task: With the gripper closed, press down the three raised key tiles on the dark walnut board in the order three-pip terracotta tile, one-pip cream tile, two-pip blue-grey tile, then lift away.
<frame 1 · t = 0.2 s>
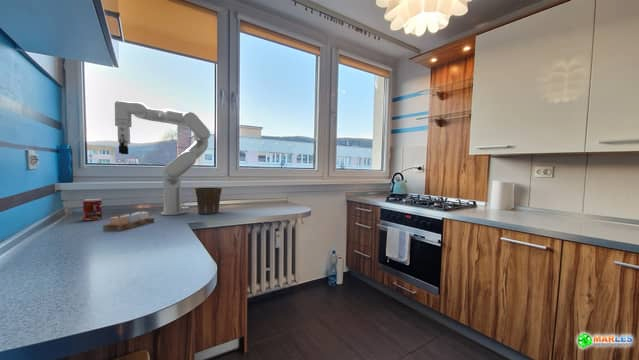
hand: (123, 153, 147), 37 cm above the countertop, tool pointing down, fingers open, 9 cm apart
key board: (130, 225, 126), on the countertop
plant pot: (208, 213, 166), on the countertop
canned food: (93, 219, 142), on the countertop
tile one pip: (140, 215, 133), point 4 cm above the countertop, slide at 0.0 cm
tile three pip: (119, 220, 120), point 4 cm above the countertop, slide at 0.0 cm
tile two pip: (130, 218, 126), point 4 cm above the countertop, slide at 0.0 cm
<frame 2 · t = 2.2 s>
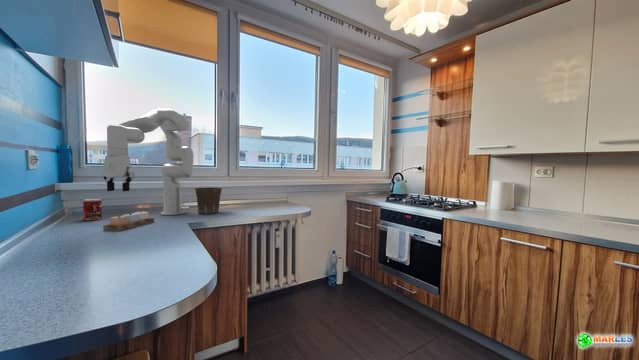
hand: (118, 190, 119), 18 cm above the countertop, tool pointing down, fingers open, 7 cm apart
nothing on the countertop moved.
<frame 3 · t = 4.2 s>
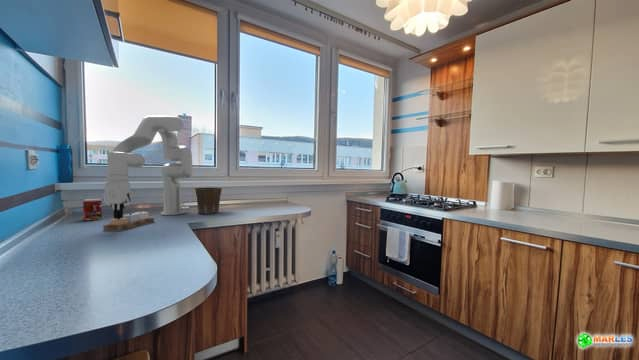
hand: (118, 218, 119), 5 cm above the countertop, tool pointing down, fingers closed
tile three pip: (119, 222, 120), point 3 cm above the countertop, slide at 0.8 cm, touching gripper
everything else where it was.
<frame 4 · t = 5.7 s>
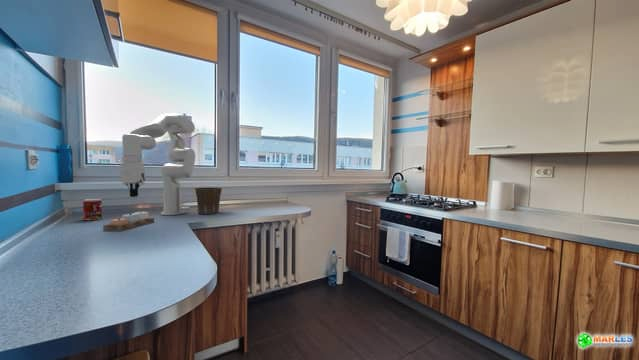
hand: (134, 196, 128), 14 cm above the countertop, tool pointing down, fingers closed
tile three pip: (119, 223, 120), point 3 cm above the countertop, slide at 1.2 cm
everything else where it was.
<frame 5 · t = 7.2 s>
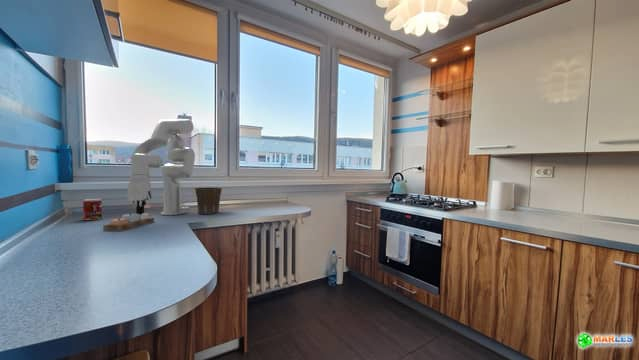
hand: (140, 213, 132), 5 cm above the countertop, tool pointing down, fingers closed
tile one pip: (140, 217, 133), point 3 cm above the countertop, slide at 0.9 cm, touching gripper
everything else where it was.
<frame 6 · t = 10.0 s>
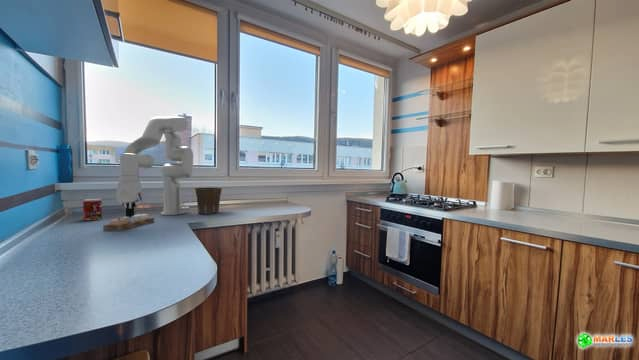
hand: (130, 216, 126), 5 cm above the countertop, tool pointing down, fingers closed
tile one pip: (140, 218, 133), point 3 cm above the countertop, slide at 1.2 cm
tile two pip: (130, 220, 126), point 3 cm above the countertop, slide at 1.1 cm, touching gripper
everything else where it was.
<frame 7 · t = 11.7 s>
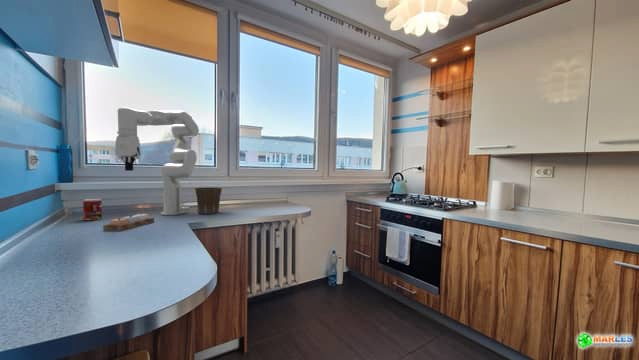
hand: (129, 170, 129), 27 cm above the countertop, tool pointing down, fingers closed
tile two pip: (130, 220, 126), point 3 cm above the countertop, slide at 1.2 cm
everything else where it was.
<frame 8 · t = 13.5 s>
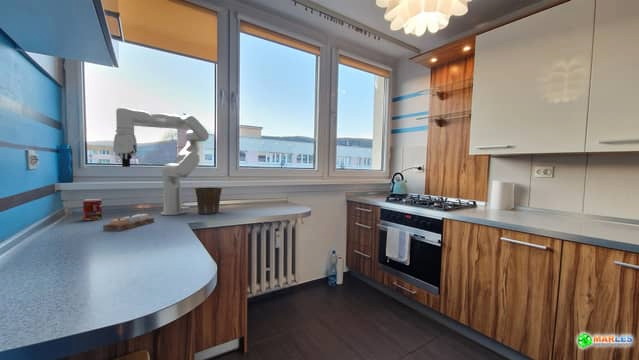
hand: (126, 166, 137), 29 cm above the countertop, tool pointing down, fingers closed
nothing on the countertop moved.
at the end: tile three pip slide at 1.2 cm; tile one pip slide at 1.2 cm; tile two pip slide at 1.2 cm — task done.
